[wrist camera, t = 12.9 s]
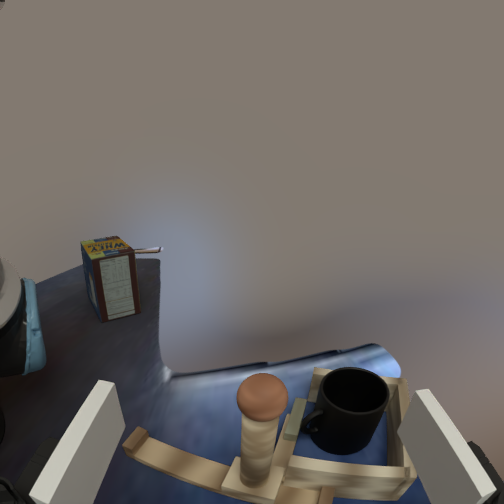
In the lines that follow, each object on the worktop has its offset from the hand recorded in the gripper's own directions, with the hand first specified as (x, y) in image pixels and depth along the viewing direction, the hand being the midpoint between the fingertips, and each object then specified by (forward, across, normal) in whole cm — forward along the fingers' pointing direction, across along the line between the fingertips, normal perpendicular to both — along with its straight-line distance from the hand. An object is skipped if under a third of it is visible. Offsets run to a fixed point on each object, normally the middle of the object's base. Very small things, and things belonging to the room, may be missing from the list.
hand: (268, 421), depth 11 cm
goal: (+18, +14, -24) cm, 33 cm away
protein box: (+56, -34, -23) cm, 70 cm away
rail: (+12, -3, -25) cm, 28 cm away
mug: (+20, +12, -24) cm, 34 cm away
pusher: (+17, +3, -24) cm, 29 cm away
